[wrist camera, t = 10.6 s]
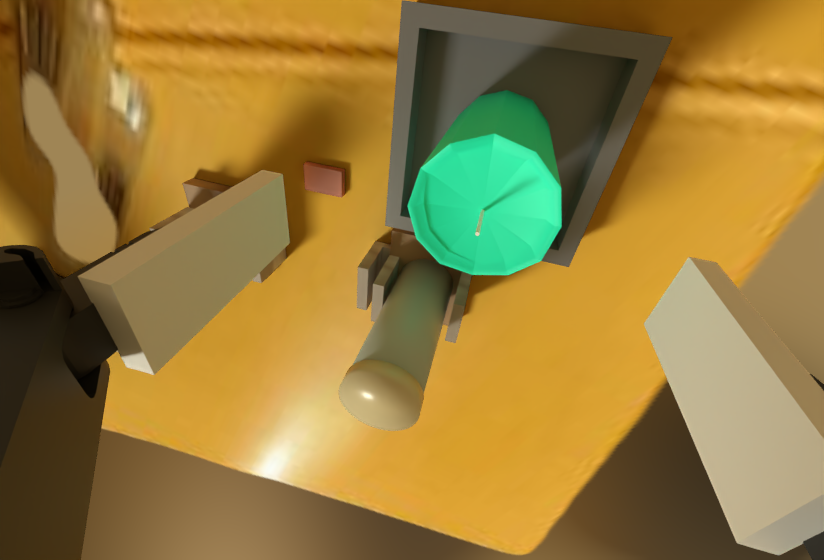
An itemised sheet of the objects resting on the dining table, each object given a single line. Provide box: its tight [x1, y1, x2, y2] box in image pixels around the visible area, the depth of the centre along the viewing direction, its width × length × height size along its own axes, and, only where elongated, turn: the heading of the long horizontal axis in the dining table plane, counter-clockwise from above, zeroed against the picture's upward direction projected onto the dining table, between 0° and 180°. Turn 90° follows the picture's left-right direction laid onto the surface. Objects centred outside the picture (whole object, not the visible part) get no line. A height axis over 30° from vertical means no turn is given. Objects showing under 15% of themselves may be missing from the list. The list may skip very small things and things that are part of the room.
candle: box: [408, 90, 562, 275], centre depth 18 cm, size 6×6×12 cm
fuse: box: [339, 259, 453, 431], centre depth 25 cm, size 5×5×12 cm
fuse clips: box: [150, 162, 472, 343], centre depth 28 cm, size 25×12×5 cm, turn 84°
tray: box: [385, 0, 672, 267], centre depth 22 cm, size 13×13×3 cm
